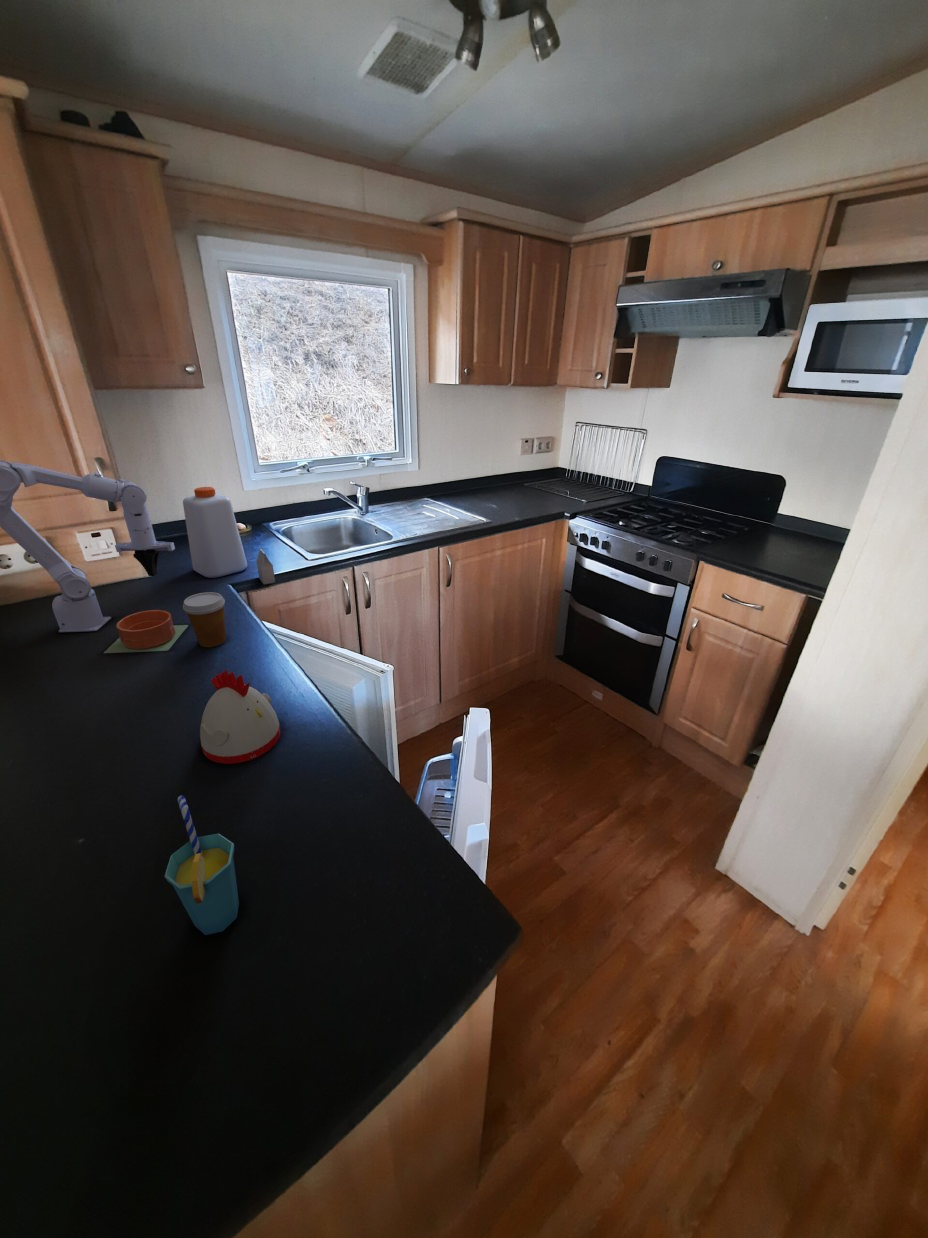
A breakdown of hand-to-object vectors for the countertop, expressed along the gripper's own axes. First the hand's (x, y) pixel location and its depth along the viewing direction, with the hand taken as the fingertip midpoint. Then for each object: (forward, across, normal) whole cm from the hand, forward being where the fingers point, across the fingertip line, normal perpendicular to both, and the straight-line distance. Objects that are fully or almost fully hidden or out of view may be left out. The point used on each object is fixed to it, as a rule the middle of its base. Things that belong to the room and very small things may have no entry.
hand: (153, 574), depth 143 cm
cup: (+11, -46, +96) cm, 107 cm away
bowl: (+10, -5, +20) cm, 23 cm away
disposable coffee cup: (+11, -21, +22) cm, 32 cm away
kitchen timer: (+11, -40, +62) cm, 74 cm away
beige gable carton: (+11, -25, -20) cm, 34 cm away
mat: (+10, -4, +19) cm, 22 cm away
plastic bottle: (+11, -7, -31) cm, 34 cm away
